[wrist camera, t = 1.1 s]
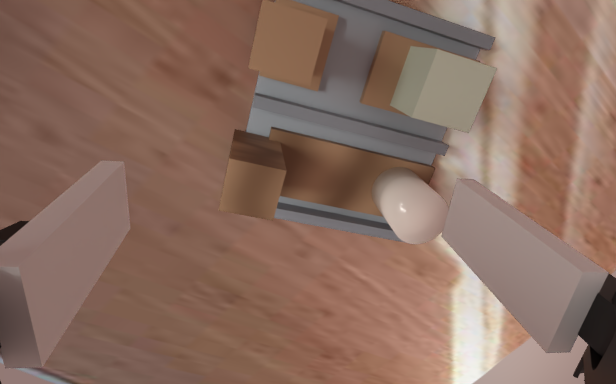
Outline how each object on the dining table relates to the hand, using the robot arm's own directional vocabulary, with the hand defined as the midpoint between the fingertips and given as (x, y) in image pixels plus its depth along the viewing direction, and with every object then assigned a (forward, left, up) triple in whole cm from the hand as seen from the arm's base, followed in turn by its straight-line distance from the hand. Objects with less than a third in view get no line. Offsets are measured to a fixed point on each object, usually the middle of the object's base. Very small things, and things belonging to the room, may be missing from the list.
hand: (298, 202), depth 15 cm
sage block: (+12, +5, -18) cm, 23 cm away
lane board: (+7, 0, -20) cm, 21 cm away
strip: (+7, -5, -19) cm, 21 cm away
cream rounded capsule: (+13, -5, -18) cm, 23 cm away
